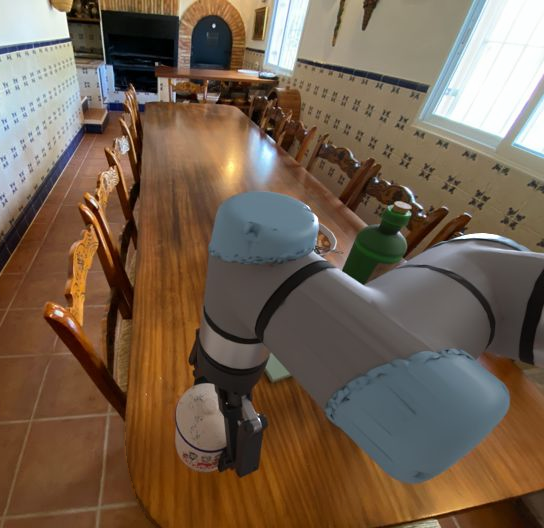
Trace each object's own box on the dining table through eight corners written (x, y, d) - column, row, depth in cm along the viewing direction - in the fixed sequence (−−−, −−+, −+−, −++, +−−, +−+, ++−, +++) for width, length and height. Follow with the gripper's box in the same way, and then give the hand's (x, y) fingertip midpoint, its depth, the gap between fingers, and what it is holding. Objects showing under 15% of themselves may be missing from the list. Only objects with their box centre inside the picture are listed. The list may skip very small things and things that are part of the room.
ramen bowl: (329, 241, 101) (338, 220, 96) (334, 284, 84) (346, 262, 79) (256, 225, 105) (261, 205, 100) (247, 264, 88) (252, 241, 83)
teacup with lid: (175, 478, 42) (178, 446, 34) (171, 413, 49) (173, 374, 41) (257, 469, 43) (276, 436, 36) (242, 407, 50) (256, 368, 43)
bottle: (371, 317, 75) (437, 223, 57) (327, 304, 77) (377, 210, 60) (368, 290, 83) (425, 200, 65) (328, 279, 85) (373, 189, 68)
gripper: (338, 431, 24) (273, 504, 38) (221, 268, 40) (206, 363, 54) (259, 469, 22) (221, 532, 36) (168, 279, 37) (166, 375, 51)
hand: (212, 430), depth 45 cm, fingers closed on teacup with lid, 9 cm apart
